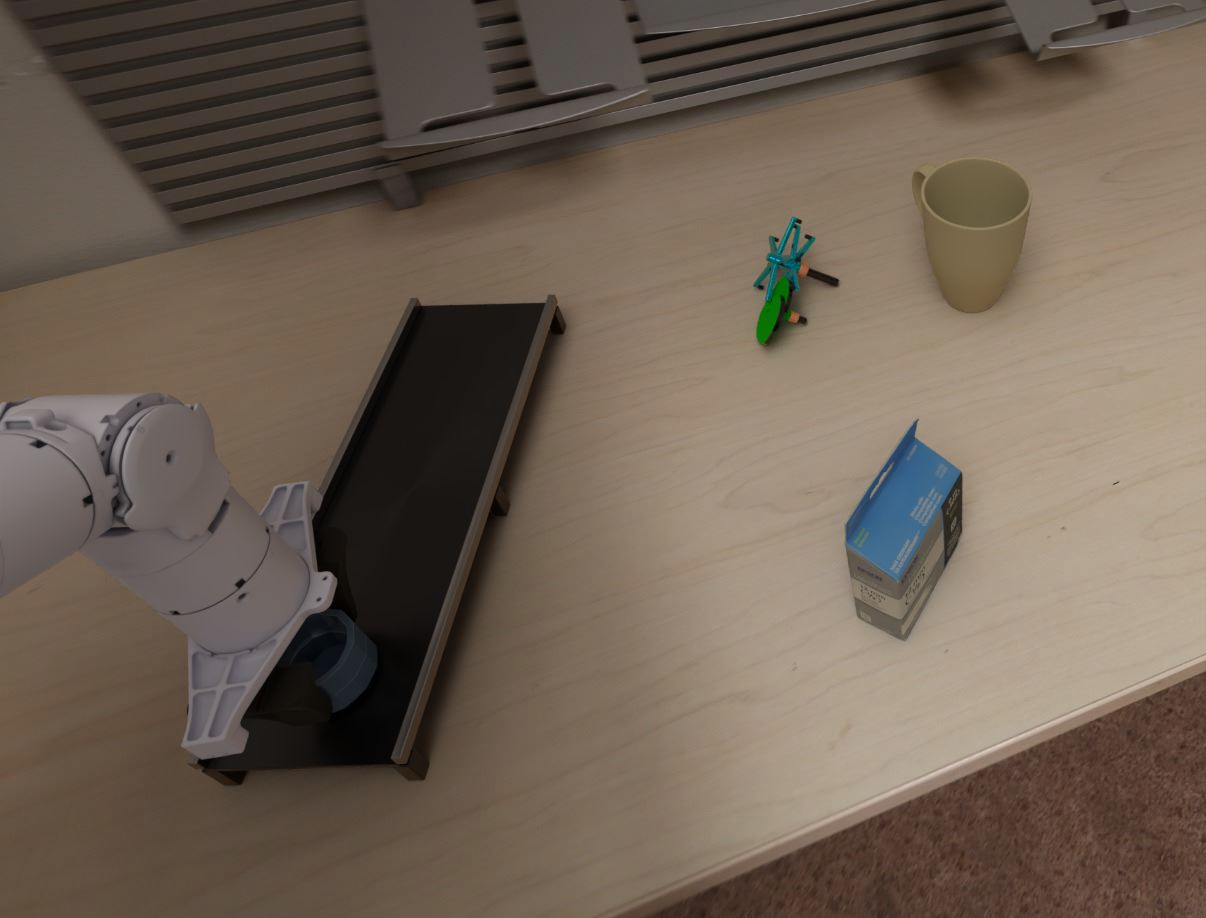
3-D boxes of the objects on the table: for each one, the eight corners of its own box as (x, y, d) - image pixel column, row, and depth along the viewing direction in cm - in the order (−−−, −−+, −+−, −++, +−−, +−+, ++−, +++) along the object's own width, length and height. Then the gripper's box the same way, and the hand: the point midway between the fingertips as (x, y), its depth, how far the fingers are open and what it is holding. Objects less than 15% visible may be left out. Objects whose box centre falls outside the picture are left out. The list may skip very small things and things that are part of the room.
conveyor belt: (426, 780, 56) (400, 758, 53) (222, 785, 56) (185, 763, 53) (567, 325, 82) (555, 294, 79) (428, 328, 82) (410, 297, 79)
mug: (1029, 259, 87) (1041, 158, 79) (1012, 339, 80) (1023, 237, 72) (915, 240, 89) (914, 139, 81) (888, 316, 82) (885, 215, 74)
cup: (321, 737, 55) (289, 712, 52) (276, 686, 57) (243, 660, 55) (397, 667, 58) (371, 639, 55) (352, 621, 60) (324, 592, 57)
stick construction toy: (757, 232, 87) (795, 199, 81) (822, 258, 90) (864, 228, 84) (732, 352, 81) (771, 326, 75) (803, 375, 84) (846, 352, 78)
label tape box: (904, 645, 62) (901, 554, 53) (851, 615, 63) (840, 522, 54) (963, 536, 67) (970, 438, 58) (913, 512, 69) (912, 412, 60)
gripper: (243, 694, 43) (367, 787, 52) (330, 429, 53) (420, 547, 62) (76, 721, 42) (232, 811, 51) (196, 447, 52) (308, 564, 62)
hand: (327, 668), depth 57 cm, fingers closed on cup, 5 cm apart
